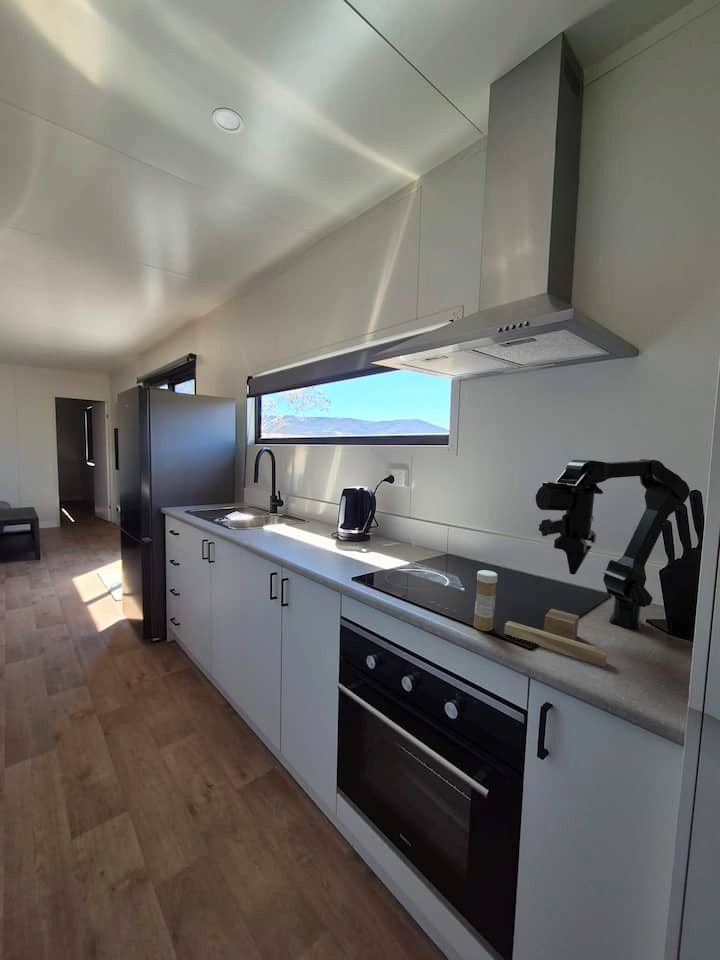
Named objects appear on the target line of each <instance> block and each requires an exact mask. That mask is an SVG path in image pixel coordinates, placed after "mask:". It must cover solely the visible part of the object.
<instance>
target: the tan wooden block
mask: <svg viewBox="0 0 720 960" xmlns="http://www.w3.org/2000/svg"><path fill="white" fill-rule="evenodd" d="M579 619H580V615H576V614H573V613H570V612H566V611H563V610H559V609H554V608H551V609H550V610H549V611H548V612H547V613H546V614H545V615H544V623H543V631H544V632H547V633H551V634H554V635H557V636H561V637H564V638H567V639H571V640H574V641H576V638H578V633H579V632H578V630H579V622H580V620H579Z"/></svg>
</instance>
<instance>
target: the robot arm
mask: <svg viewBox="0 0 720 960" xmlns="http://www.w3.org/2000/svg"><path fill="white" fill-rule="evenodd" d="M630 477H639V480H640V485H641V486H642V487H643V488H644V489H645V490H646V491H645V493H644V501H645V510H644V512H643V514H642V516H641V518H640V520H639V522H638V524H637V526H636V528H635V531H634V532H633V535H632V536H631V538H630V541H629V543H628V545H627V547H626V549H625V551H624V553H623V555H622V557H620V558H619V559H617V560H614V559H610V560H609V561H608V564H607V567H606V568H605V570H604V571H603V574H604V576H603V579H602V581H603V582H604V586H605V589H606V593H607V594H608V595H609V596H613V597H614V599H613V601H614V602H613V607H612V608H613V609H612V610H613V611H612V614H611V615H610V617H609V621H608V622H609V623H610V624H615V625H618V626H622V627H626V628H629V629H633V630H637V631H641V626H642V620H640V619H641V608H646V607H648V606H649V607H650V606H651V604H652V602H653V596H652V595H651V593H650V592H649V591H648V589H646V587H645V586H646V582H647V575H646V574H647V573H646V568H645V566H646V563H647V562H648V560H649V558H650V556H651V553H652V552H653V550H654V547H655V546H656V543H657V541H658V539H659V537H660V535H661V532H662V531H663V529H664V527H662V523H663V522H664V521H666V522H667V520H668V518H669V517H670V516H671V514H673V513H674V512H676V511H675V506H676V505H679V504H683V505H684V504H685V502H686V501H687V499H688V498H689V496H690V493H691V489H690V487H689V484H688V483H687V482H686V481H685V480H683V479H682V477H681V476H680V475H678V473H676V472H674V471H672V470H671V469H669V468H667V467H666V466H665V464H663V463H662V462H661V461H659V460H658V459H639V460H628V461H627V460H625V461H610V462H608V461H607V462H605V461H599V460H593V459H592V460H590V459H589V460H588V459H573V460H572V459H571V460H570V461H568V463H567V465H566V467H565V469H564V470H563V471H562V473H561V474H560V476H558V478H557V479H556V481H555V482H550V481H543V482H542V485H541V487H539V488H538V489H537V493H535V503H536V506H537V508H538V509H539V510H541V511H560V512H561V511H562V512H564V511H565V513H564V514H563V515H562V516H561V519H556V520H551V519H550V518H547V519H542V520H541V523H539V524H538V527H539V528H538V531H539V532H540V533H541V536H542V537H547V536H550V535H554V534H559V535H560V536H557V538H555V539H554V540H553V541H554V542H553V548H554V549H556V550H561V551H563V552H564V553H565V554H566V558H567V559H566V560H567V564H568V569H569V570H568V571H569V574H570V575H573V576H574V575H576V574H577V573H578V571H579V568H580V567H581V566H582V564H583V562H584V560H585V559H586V557H587V555H588V554H589V553H590V550H591V549H592V547H593V546H592V545H590V544H588V543H587V541H589V542H591V544H592V543H593V544H594V543H596V542H597V534H596V533H595V531H594V530H592V522H593V521H594V518H595V517H594V515H593V513H594V512H593V511H594V504H595V502H594V501H595V494H596V495H602V494H603V493H604V491H603V490H602V489H601V488H600V487H599V486H598V484H599V483H603V482H605V481H606V482H607V480H610V479H614V478H616V479H617V478H618V479H619V478H630ZM663 526H665V525H663Z"/></svg>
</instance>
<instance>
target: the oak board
mask: <svg viewBox="0 0 720 960" xmlns="http://www.w3.org/2000/svg"><path fill="white" fill-rule="evenodd" d="M504 634H507V635H510V636H512V637H511V638H513V637H515V638H514V639H517V638H519V639H518V640H520V639H523V640H527V641H530V642H533V643H536V644H538V645H539V646H538V645H537V646H538V647H542V648H544V649H548V650H551V651H554V652H557V653H560V654H563V655H567V656H569V657H571V658H574V659H578V660H581V661H585V662H587V663H590V664H594V665H595V666H599V667H603V668H605V667H606V664H607V661H608V660H607V659H608V658H607V657H608V650H607V649H603V648H599V647H597V646H593V645H590V644H587V643H583V642H580V641H577V640H571V639H567V638H564V637H561V636H557V635H554V634H551V633H547V632H544V630H541V629H537V628H534V627H530V626H527V625H524V624H521V623H518V622H514V621H510V620H508V621H507V622H506V623H504V631H503V635H504ZM507 635H506V636H507ZM510 636H509V637H510ZM523 640H522V641H523Z"/></svg>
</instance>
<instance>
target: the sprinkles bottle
mask: <svg viewBox="0 0 720 960" xmlns="http://www.w3.org/2000/svg"><path fill="white" fill-rule="evenodd" d="M476 573H477V575H476V582H477V584H476V585H477V586H476V593H475V596H476V597H475V604H474V617H473V619H474V620H473V627H474V628H476V630H477V629H478V631H479V630H480V631H482V632H483V631H484V632H489V631H492V630H493V629H494V626H493V625H494V624H493V623H494V616H495V608H496V607H495V604H496V590H497V583H498V573H496V572H495V571H492V570H485V569H482V570H478V571H477V572H476Z"/></svg>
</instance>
